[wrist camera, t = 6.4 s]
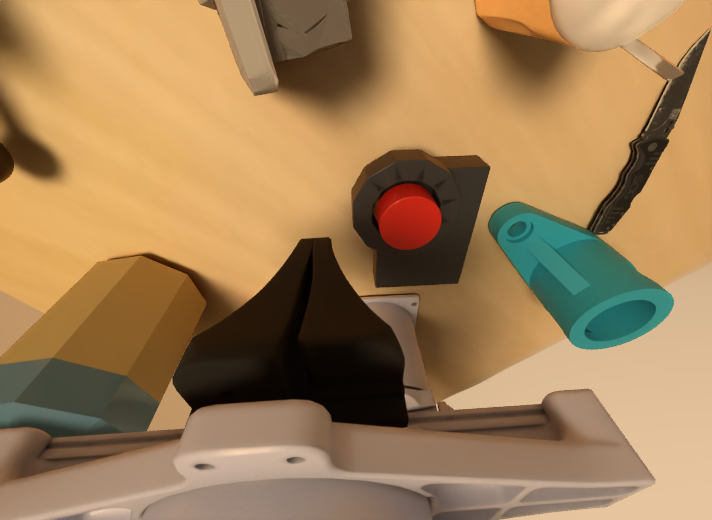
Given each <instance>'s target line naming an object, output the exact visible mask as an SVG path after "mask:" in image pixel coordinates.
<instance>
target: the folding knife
mask: <svg viewBox="0 0 712 520" xmlns="http://www.w3.org/2000/svg"><path fill="white" fill-rule="evenodd" d="M710 30H711V27H710V29H709V30H708V31H707V32H706V33H705V34H704V35H703V36H702V37H701V38H700V39H699V40H698V41H697V42H696V43H695V44H694V45H693V46H692V48H691V49H690V50H689V52H688V53H687V54H686V56H685V57H684V58H683V60H682V61H681V63H680V64H679V66H678V68H679V69H681V70H682V71H683V72H684V74H683V75H681V76H678V77H676V78H674V79H671V80H670V81H669V83H668V84H667V86H666V89H665V91H664V93H663V95H662V97H661V99H660V101H659V103H658V105H657V107H656V109H655V112H654V114H653V116H652V118H651V120H650V122H649V124H648V126H647V128H646V129H645V131H644V133H642V134H641V137H640V138H638V139H636V140H634V141H632V142H631V143H630V146H631V148H632V150H633V157H632V159H631V161H630V164H629V165H628V166H627V167H626V169H625V170H624V171H623V173H622V177H621V181H620V184H619V186H618V188H617V189H616V191H615V192H614V193H613V194H612V196H610V198H609V199H608V200H607V201H606V202H605V203H604V204H603V206H602V208H601V210H600V212H599V214H598V216H597V217H596V219H595V221H594V223H593V225H592V227H591V229H590V230H591V233H594V235H603V234H607V233H608V232H609V231H611V230H612V229H613V227H614V226H615V225H616V224H617V222H618V221H619V220H620V219H621V218H622V216H623V215H624V214H625V213H626V211H627V210H628V209H629V208H630V205H631V202H632V200H633V199H634V197H635V196H636V195H637V194H639V193H640V192H641V190H642V189H643V187H644V185H645V184H646V182H647V180H648V178H649V176H650V174H651V172H652V170H653V168H654V167H655V165H656V163H657V161H658V160H659V158H660V156H661V154H662V152H663V151H664V149H665V148H666V147H667V145H668V143H669V140H668V139H667V137H668V135H669V133H670V132H671V130H672V129H673V128H674V125H675V122H676V121H677V119H678V117H679V114H680V112H681V109H682V106H683V104H684V101H685V99H686V96H687V93H688V91H689V88H690V85H691V83H692V80H693V77H694V74H695V72H696V69H697V66H698V63H699V61H700V58H701V55H702V52H703V50H704V47H705V44H706V42H707V39H708V36H709V34H710ZM605 205H606V206H605ZM604 207H605V208H604ZM603 209H604V210H603ZM599 217H600V218H599ZM598 219H599V220H598ZM596 223H597V224H596ZM600 232H604V233H600Z"/></svg>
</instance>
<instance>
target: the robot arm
mask: <svg viewBox="0 0 712 520" xmlns="http://www.w3.org/2000/svg"><path fill="white" fill-rule="evenodd" d="M419 300H420V299H419V296H418V295H416V294H411V295H392V296H373V297H359V296H358V294H357V293H356V292H355V290H354V289H353V288H352V286H351V285H350V284H349V282H348V281H347V279H346V277H345V276H344V274H343V272H342V270H341V268H340V267H339V264H338V262H337V260H336V258H335V255H334V253H333V249H332V243H331V239H330V238H329V237H326V238H308V239H301V240H300V241H299V243H298V244H297V246H296V247H295V249H294V250H293V252H292V253H291V255H290V256H289V258H288V259H287V260H286V262H285V263H284V264H283V266H282V267H281V268H280V270H279V271H278V272H277V273H276V274H275V276H274V277H273V278H272V279H271V280H270V281H269V282H268V283H267V285H266V286H265V287H264V288H263V289H262V290H261V291H259V292H258V293H257V294H256V295H255V296H254V297H253V298H252V299H250V300H249V301H248V302H247V303H245V304H244V305H243V306H242V307H241V308H239V309H238V310H237V311H235V312H234V313H232V314H231V315H230V316H228V317H227V318H225V319H224V320H222V321H221V322H219V323H217V324H216V325H214V326H212V327H211V328H209V329H207V330H206V331H204V332H202V333H200V334H199V335H197V336H195V337H193V338H192V339H191V341H190V343H189V345H188V346H187V348H186V350H185V352H184V354H183V356H182V358H181V360H180V362H179V364H178V367H177V369H176V371H175V373H174V376H173V377H172V378H173V385H174V386H175V388H176V390H177V391H178V393H179V394H180V395H181V396H182V397H183V398H184V400H185V401H186V402H187V403H188V405H189V406H190V407H191V408H192V410H191V413H190V415H189V418H188V420H187V423H186V426H185V428H184V429H174V430H160V431H145V432H131V433H116V434H102V435H88V436H73V437H59V438H51V436H50V435H49V434H47V433H46V432H44V431H42V430H40V429H36V428H29V427H23V428H8V429H0V520H499V519H506V518H513V517H520V516H527V515H535V514H543V513H550V512H559V511H568V510H578V509H589V508H600V507H608V506H610V505H612V504H614V503H616V502H618V501H620V500H622V499H624V498H626V497H628V496H630V495H632V494H634V493H637V492H639V491H640V490H643V489H645V488H647V487H649V486H651V485H653V484H655V478H654V477H653V476H652V474H651V473H650V471H649V470H648V469H647V467H646V466H645V464H644V463H643V461H642V460H641V459H640V457H639V456H638V455H637V453H636V452H635V450H634V449H633V448H632V446H631V445H630V443H629V442H628V440H627V439H626V438H625V436H624V435H623V433H622V432H621V431H620V429H619V428H618V426H617V425H616V424H615V422H614V421H613V419H612V418H611V417H610V415H609V414H608V412H607V411H606V410H605V408H604V407H603V405H602V404H601V403H600V401H599V400H598V399H597V397H596V395H595V394H594V393H593V391H592V390H590V389H579V390H564V391H556V392H552V393H550V394H548V395H547V396H546V397H545V398H544V399H543V401H542V403H541V404H535V405H521V406H506V407H492V408H477V409H463V410H454V409H453V408H451V407H450V406H448V405H447V404H446V403H445V402H443V401H442V402H438V403H437V404H438V408H439V411H437V409H436V405H435V401H434V397H433V393H432V390H431V389H430V387H429V383H428V380H427V376H426V372H425V368H424V364H423V360H422V357H421V353H420V349H419V345H418V341H417V337H416V334H415V324H416V318H417V312H418V306H419ZM413 302H415V303H413Z"/></svg>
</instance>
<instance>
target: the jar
mask: <svg viewBox="0 0 712 520" xmlns="http://www.w3.org/2000/svg"><path fill="white" fill-rule="evenodd" d="M206 304H207V302H206V301H205V299H204V298H203V296H202V295H201V294H200V292H199V291H198V289H197V288H196V286H195V285H194V283H193V282H192V280H191V279H190V277H189V276H188V275H187V274H185V273H182V272H180V271H177V270H175V269H173V268H170V267H168V266H165V265H163V264H160V263H158V262H155V261H153V260H151V259H148V258H146V257H143V256H134V257H128V258H121V259H114V260H107V261H100V262H97V263H96V264H95V265H94V266H93V267H92V268H91V269H90V270H89V271H88V272H87V273H86V274H85V275H84V276H83V277H82V278H81V279H80V280H79V281H78V282H77V283H76V284H75V285H74V286H73V287H72V288H71V289H70V290H69V291H68V292H67V293H66V294H65V295H64V296H63V297H62V298H60V299H59V300H58V301H57V302H56V303H55V304H54V305H53V306H52V307H51V308H50V309H49V310H48V311H47V312H46V313H45V314H44V315H43V316H42V317H41V318H40V319H39V320H38V321H37V322H36V323H35V324H34V325H33V326H32V327H31V328H30V329H29V330H28V331H27V332H26V333H25V334H24V335H23V336H21V337H20V339H18V340H17V341H16V342H15V343H14V344H13V345H12V346H11V347H10V348H9V349H8V350H7V351H6V352H5V353H4V354H3V355H2V356H1V357H0V429H8V428H23V427H29V428H36V429H40V430H42V431H44V432H46V433H47V434H49V435H50V436H51V438H59V437H73V436H88V435H102V434H116V433H131V432H145V431H147V429H148V427H149V425H150V423H151V421H152V419H153V417H154V414H155V412H156V410H157V408H158V406H159V404H160V402H161V400H162V397H163V395H164V393H165V391H166V389H167V387H168V385H169V383H170V381H171V378H172V376H173V374H174V372H175V370H176V368H177V366H178V364H179V362H180V359H181V357H182V355H183V353H184V351H185V349H186V347H187V345H188V343H189V340H190V338H191V336H192V334H193V332H194V330H195V328H196V326H197V324H198V321H199V319H200V317H201V315H202V313H203V311H204V309H205V307H206Z"/></svg>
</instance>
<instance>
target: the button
mask: <svg viewBox="0 0 712 520" xmlns="http://www.w3.org/2000/svg"><path fill="white" fill-rule="evenodd" d="M376 216H377V221H378V226H379V231H380V234H381V236H382V238H383V240H384V241H385V242H386V243H387V244H389V245H390V246H392V247H394V248H397V249H401V250H411V249H416V248H419V247H421V246H423V245H425V244H427V243H428V242H430V241H431V240H432V239H433V238H434V237H435V235H436V234H437V233H438V231H439V229H440V226H441V220H442V217H441V212H440V209H439V208H438V206H437V204H436V202H435V201H434V199H433V197H432V195H431V194H430V192H429V191H428V190H427V189H425V188H424V187H422V186H420V185H417V184H410V183H407V184H401V185H398V186H395V187H393V188H391V189H390V190H388V191H387V192H386V193H385V194H384V195H383V196H382V197H381V199H380V201H379V203H378V205H377V209H376Z"/></svg>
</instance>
